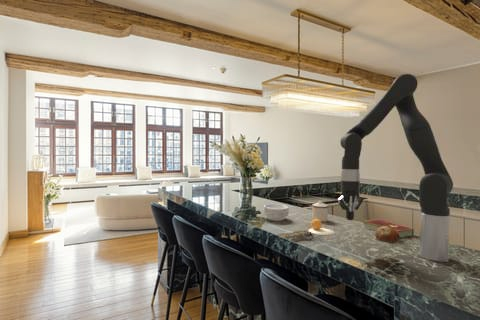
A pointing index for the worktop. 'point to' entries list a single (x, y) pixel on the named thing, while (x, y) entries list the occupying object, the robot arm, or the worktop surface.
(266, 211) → the paper bowls
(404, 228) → the hardcover book
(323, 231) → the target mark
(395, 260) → the worktop surface
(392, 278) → the worktop surface
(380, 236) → the bread roll
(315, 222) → the ball
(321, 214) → the teacup with lid
